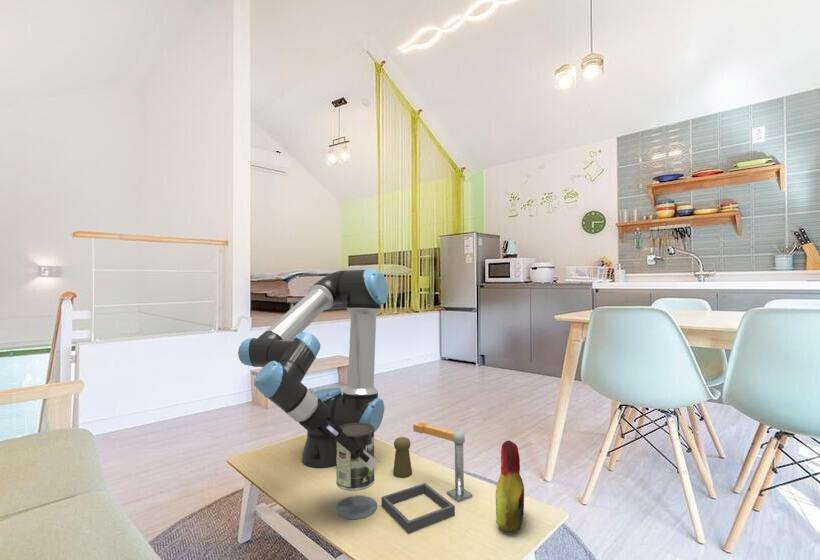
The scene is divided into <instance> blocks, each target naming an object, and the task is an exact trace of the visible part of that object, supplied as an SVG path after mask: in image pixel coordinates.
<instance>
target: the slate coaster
mask: <svg viewBox="0 0 820 560" xmlns="http://www.w3.org/2000/svg"><path fill="white" fill-rule="evenodd" d="M377 508H378V503H377V501H376V500H375V499H374V498H372V497H370V496H367V495H352V496H348V497H346V498H343V499H341V500H340V501H339V502H337V504H336V505H335V512H336V513H335V514H336V515H337V516H338V517H340V518H342V519H346V520H351V521H352V520H353V521H354V520H362V519H365V518H368V517H369V516H372V515H373V514H375V512H376V511H377Z"/></svg>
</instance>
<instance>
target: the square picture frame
mask: <svg viewBox="0 0 820 560" xmlns="http://www.w3.org/2000/svg"><path fill="white" fill-rule="evenodd" d="M422 495H425V496H427V497H428V498H429V499H430V500H431V501H433V502H434V503H435V504H436V505H437V506H439V507H440V509H436V510H434V511H431V512H429V513H428V512H427V513H426V514H423V515H421V516H417V517H415V518H412V519H410V520H409V519H408V517H406V516H405V515H404V514H403V513H402V511H400V510H399V509H398V508H397V506H395V505H394V504H398V503H401V502H404V501H406V500H411V499H413V498H416V497H419V496H422ZM381 507H382V508H383V509H384V511H386V512H387V514H389V515H390V517H391V518H393V520H394V521H395V522H396V523H397V524H398V525H399V526H400V527H401V528H402V529H403V530H404V531H405V532H406V534H408V535H409V534H410V533H413V532H416V531H420V530H421V529H424V528H426V527H429V526H432V525H435V524H437V523H440V522H442V521H444V520H447V519H450V518H452V517H455V516H456V512H455V511H456V508H455V507H456V506H455V504H453V503H452V502H451V501H449V500H448V499H446V498H445V497H444V496H443V495H441V493H439V492H438V491H436V490H435V489H434V488H432V487H431V486H430V485H429V484H427V483H426V482H424V483H420V484H418V485H417V484H416V485H413V486H412V487H411V486H410V487H408V488H405V489H401V490H398V491H395V492H392V493H390V494H386V495H383V496H381Z"/></svg>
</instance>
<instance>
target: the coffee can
mask: <svg viewBox="0 0 820 560" xmlns="http://www.w3.org/2000/svg"><path fill="white" fill-rule="evenodd" d="M340 428H341V429H342V432H343V433H344V434H345V435H347V436H348V437H349V438H350V439H351V440H353V441H354V442H355V443H356V444H357V445H358V446H360V447H362V448H363V449H364V450H365V451H366V452H367V453H369V454H370V455H371V456H372V457H373V458H374V459H375V432H374V427H373V426H372V425H370V424H366V423H349V424H345V425H342V426H340ZM353 458H354V455H353V454H352V453H350V452H349V451H348V450H347V449H346V448H344V447H343V446H342V445H341V444H340V443H339V442H337V441H336V465H335V466H336V482H335V483H336V486H337V488H339V489H340V490H343V491H347V492H348V491H349V492H358V491H364V490H367V489H368V488H370V487H372V486H373V485H374V484H375V468H374V469H373V470H372V471H371V470H370V469H369V468H368V467H366V466H365V465H364V464H363V463H362V462H360V461H359V460H358V459H357V458H356V459H355V460H354V459H353Z"/></svg>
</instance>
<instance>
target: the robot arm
mask: <svg viewBox="0 0 820 560" xmlns="http://www.w3.org/2000/svg"><path fill="white" fill-rule="evenodd" d="M307 291H308V292H307V294H306V295H304V297H303V298H302V299H300V300H298V302H297V303H295V304H294V305H293V306H292V307H291V308H290V309H289V310H288V311H287V312H285V313H284V314H283V315H282V316H281V317H280V318H279V319H277V321H275V322H274V324H272V325H271V326H270V327H269V328H268V329H266V330H265V331H264V332H263V333H261V334H260V335H259V336H258V337H257V338H256V337H252V338H246V339H244V340H243V341H241V343H240V345H239V346H238V347H239V348H238V350H237V357H238V359H239V361H240V363H241V364H243V365H245V366H248V367H254V368H262V369H260V370H259V371H258V372H257V374H256V375H255V377H254V379H253V380H254V381H253V384H254V387H255V388H256V389H257V390H258V391H259V392H260V393H261V394H262V395H263V396H264V397H265V398H266V399H268V400H270V401H271V402H272V403H273V404H275V406H277V407H279V408H280V409H281V410H283V412H284V413H285V414H286V415H288V416H289V417H290V418H291V419H292V420H294V421H295V422H296V423H297V422H298V424H299V425H300V426H302V427H303V428H304V429H305V430H306V432H307V433H306V434H307V435H306V436H307V437H306V440H305V442H304V446H303V450H302V453H301V455H302V458H301V461H302V463H303V464H304V465H305V464H306V465H305V466H307V465H308V466H307V467H310V466H311V467H310V468H319V467H322V468H328V467H333V466H334V467H335V466H336V441H337V442H339V443H340V444H341V445H342V446H343V447H344V448H346V449H347V450H348V451H349V452H350V453H352V454H353V455H354V458H353V459H354V460H355V459H356V458H357V459H358V460H359V461H360V462H362V463H363V464H364V465H365V466H366V467H368V468H369V469H370V470H371V471H372V470H373V469H374V470H375V467H377V465H378V464H379V461H378V460H377V459H375V457H374V458H373V457H372V456H371V455H370V454H369V453H367V452H366V451H365V450H364V449H363V448H362V447H360V446H358V445H357V444H356V443H355V442H354V441H353V440H351V439H350V438H349V437H348V436H347V435H345V434H344V433H343V432H342V429H341V428H340V426H342V425H345V424H349V423H366V424H370V425H372V426H373V427H374V433H375V432H377V430H378V429H379V428H380V426H381V424H382V422H383V419H384V414H385V404H384V400H383V399H382V398H381V397H379V391H378V390H377V388H376V387H375V365H376V364H375V363H376V362H375V360H376V359H375V356H376V355H375V354H376V335H377V333H376V330H377V328H376V327H377V314H379V312H380V311H381V310H382V305H384V304H386V303H387V301H388V296H389V288H388V283H387V279H386V278H385V276H384V274H383V273H382V272H381V271H379V270H378V269H376V270H375V269H354V270H353V269H351V270H350V269H349V270H348V269H347V270H337V271H333V272H331V273H329V274H327V275H326V276H324V277H322V278H320V279H319V280H318V281H316V282H315V283H313V285H312V286H310V287H309V289H308V290H307ZM340 304H341V305H342V304H345V305H346V310H347V311H348V312H349V313H350V327H349V329H350V330H349V349H348V350H349V352H348V354H349V355H348V375H347V376H348V377H347V387H345V388H344V389H343V391H342V389H341V388H339V387H329V388H327V387H326V388H322V389H318V390H315V391H314V389H313V388H308V387H307V386H305V384H304V383H303V382H302V381H303V379H304V377H305V376H306V374H307V373H308V371H309V369H310V368H311V366H312V365H313V363H314V362H315V360H316V359H317V355H318V354H319V352H320V350H321V343H320V341H319V339H318V338H317V337H316V336H315V335H314V334H312V333H310V332H307V331H304V330H306V329H307V328H308V327H309V326H310V325H311V324H312V323H313V322H314V321H315V319H317V318H318V317H319V316H320V315H321V314H322V313H323V312H324V311H327V310H329V309H331V308H332V307H333V306H335V305H340ZM319 469H320V468H319Z"/></svg>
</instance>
